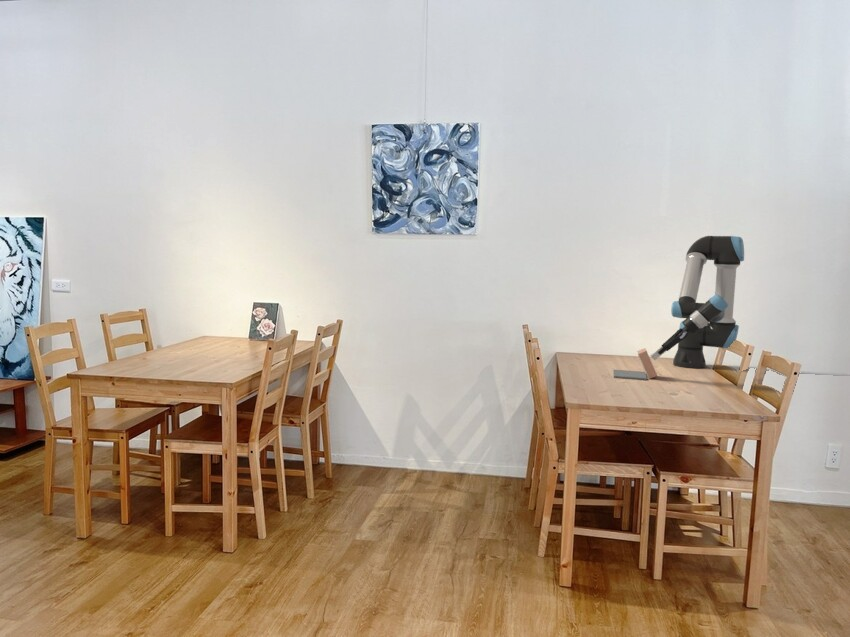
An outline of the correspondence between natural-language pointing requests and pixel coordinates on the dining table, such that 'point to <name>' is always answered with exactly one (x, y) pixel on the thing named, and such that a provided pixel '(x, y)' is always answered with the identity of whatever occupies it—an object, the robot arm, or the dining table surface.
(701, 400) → the dining table surface
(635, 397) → the dining table surface
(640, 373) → the slate mat
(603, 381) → the dining table surface
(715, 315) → the robot arm
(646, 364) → the terracotta block
